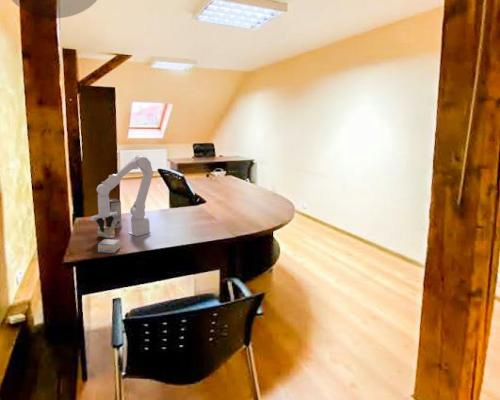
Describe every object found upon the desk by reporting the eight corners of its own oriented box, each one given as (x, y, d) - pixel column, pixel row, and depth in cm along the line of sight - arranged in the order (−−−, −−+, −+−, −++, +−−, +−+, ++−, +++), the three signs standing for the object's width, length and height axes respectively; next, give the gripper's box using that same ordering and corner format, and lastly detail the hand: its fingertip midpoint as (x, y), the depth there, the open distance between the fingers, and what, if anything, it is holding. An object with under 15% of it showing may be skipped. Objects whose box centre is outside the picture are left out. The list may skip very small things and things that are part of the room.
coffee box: (106, 225, 223) (104, 199, 220) (116, 223, 228) (115, 198, 224) (111, 228, 217) (109, 202, 213) (122, 226, 221) (120, 200, 217)
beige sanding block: (103, 234, 205) (102, 226, 204) (115, 236, 198) (113, 227, 197) (98, 236, 203) (96, 227, 202) (110, 237, 195) (108, 228, 195)
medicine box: (120, 239, 186) (113, 244, 177) (120, 247, 187) (114, 253, 178) (104, 238, 186) (97, 244, 177) (105, 247, 187) (97, 252, 178)
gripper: (112, 203, 205) (113, 226, 208) (87, 207, 194) (88, 232, 197) (119, 205, 201) (120, 229, 204) (94, 209, 190) (95, 234, 193)
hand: (105, 230), depth 200 cm, fingers closed on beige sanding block, 3 cm apart
